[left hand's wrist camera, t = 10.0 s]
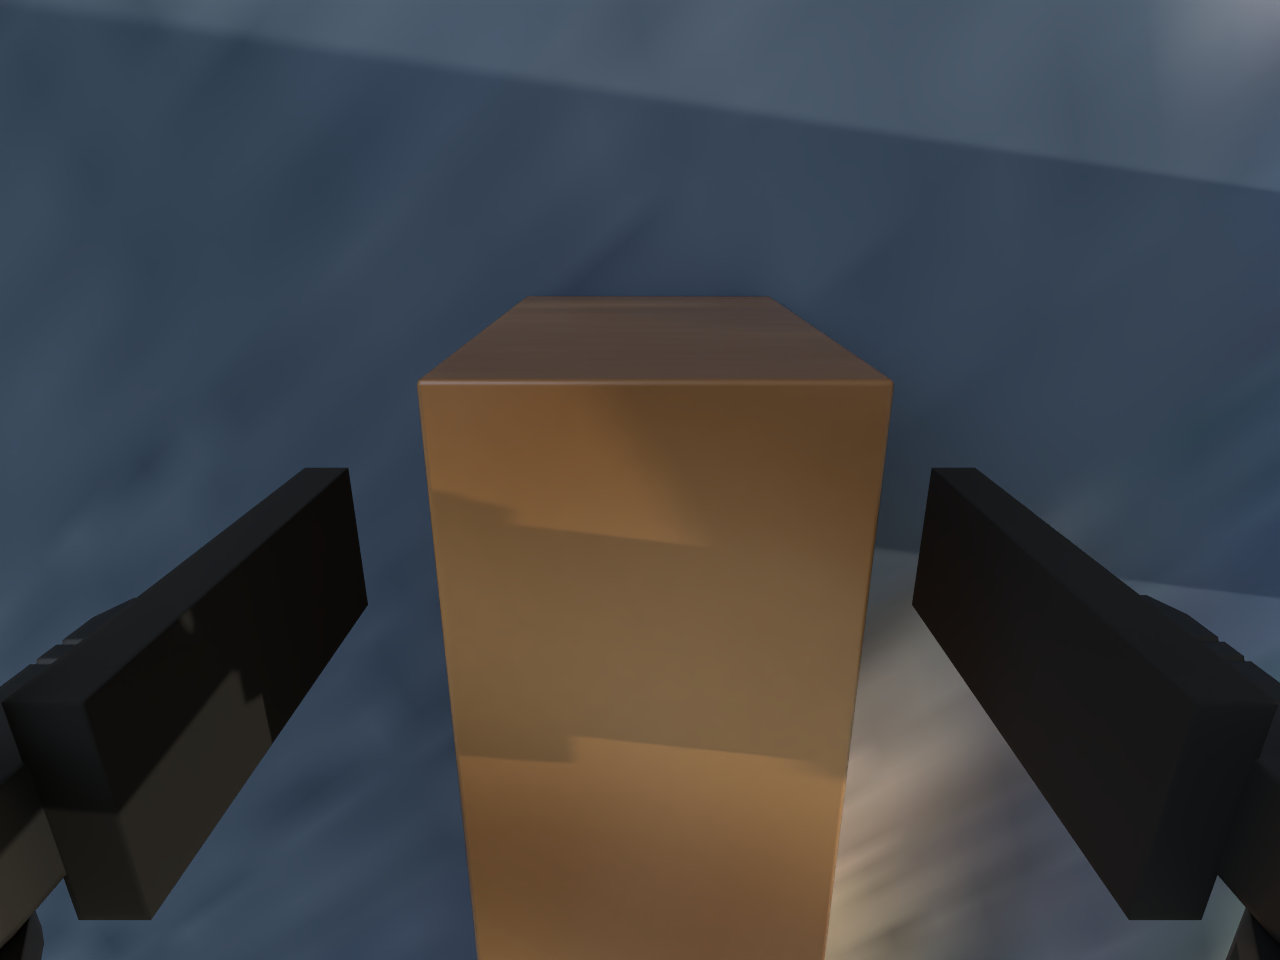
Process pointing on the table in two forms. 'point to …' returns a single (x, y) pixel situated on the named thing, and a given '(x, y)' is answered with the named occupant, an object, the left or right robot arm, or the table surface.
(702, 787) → the bar
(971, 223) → the table surface
